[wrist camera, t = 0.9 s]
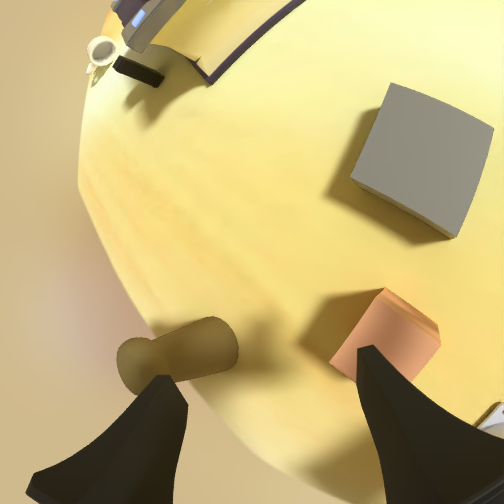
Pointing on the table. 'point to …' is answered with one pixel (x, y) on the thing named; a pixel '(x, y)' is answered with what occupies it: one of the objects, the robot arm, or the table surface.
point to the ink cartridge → (137, 71)
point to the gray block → (424, 158)
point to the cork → (178, 354)
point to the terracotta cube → (391, 337)
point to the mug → (101, 52)
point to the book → (200, 27)
